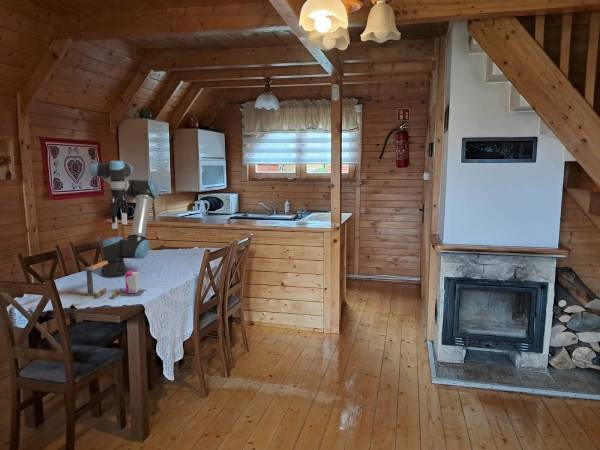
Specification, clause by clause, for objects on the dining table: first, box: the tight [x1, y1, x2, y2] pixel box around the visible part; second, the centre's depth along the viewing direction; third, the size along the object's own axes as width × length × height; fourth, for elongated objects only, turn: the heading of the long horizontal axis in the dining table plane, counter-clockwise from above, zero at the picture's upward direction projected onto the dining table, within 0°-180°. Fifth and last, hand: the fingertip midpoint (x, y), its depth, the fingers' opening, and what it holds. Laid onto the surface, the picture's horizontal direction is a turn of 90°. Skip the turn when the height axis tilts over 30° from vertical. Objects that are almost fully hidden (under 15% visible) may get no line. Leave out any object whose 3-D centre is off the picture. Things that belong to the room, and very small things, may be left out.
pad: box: [119, 289, 146, 297], centre depth 246 cm, size 10×10×1 cm
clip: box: [85, 260, 108, 272], centre depth 245 cm, size 3×17×2 cm, turn 169°
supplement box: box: [124, 270, 141, 294], centre depth 245 cm, size 6×6×12 cm
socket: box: [86, 270, 123, 300], centre depth 240 cm, size 10×16×14 cm, turn 89°
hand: (119, 226), depth 253 cm, fingers open, 13 cm apart
